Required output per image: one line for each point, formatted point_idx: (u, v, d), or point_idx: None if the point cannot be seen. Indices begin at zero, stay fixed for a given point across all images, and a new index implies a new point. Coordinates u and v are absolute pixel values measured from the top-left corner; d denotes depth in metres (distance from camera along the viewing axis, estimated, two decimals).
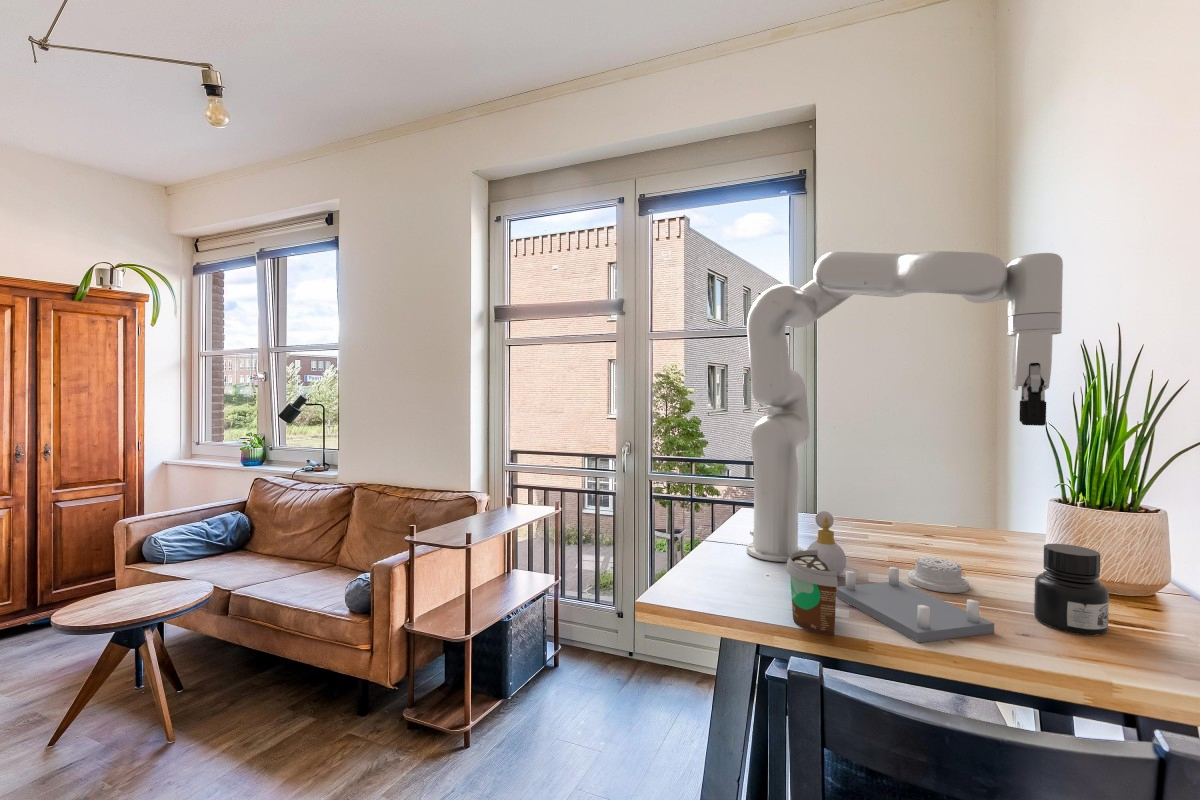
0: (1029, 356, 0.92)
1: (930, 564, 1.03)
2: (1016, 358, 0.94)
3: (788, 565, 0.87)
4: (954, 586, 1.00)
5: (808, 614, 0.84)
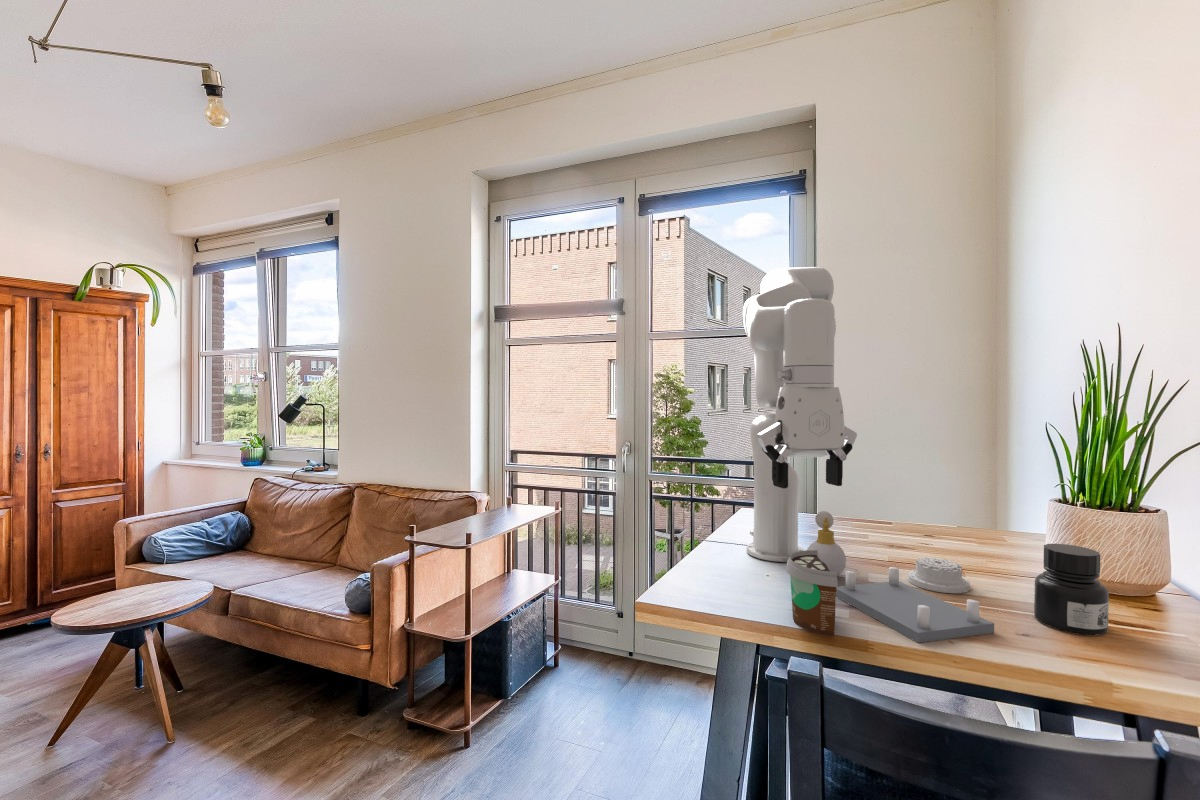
0: None
1: (930, 564, 1.03)
2: (842, 415, 0.85)
3: (788, 565, 0.87)
4: (954, 586, 1.00)
5: (808, 614, 0.84)
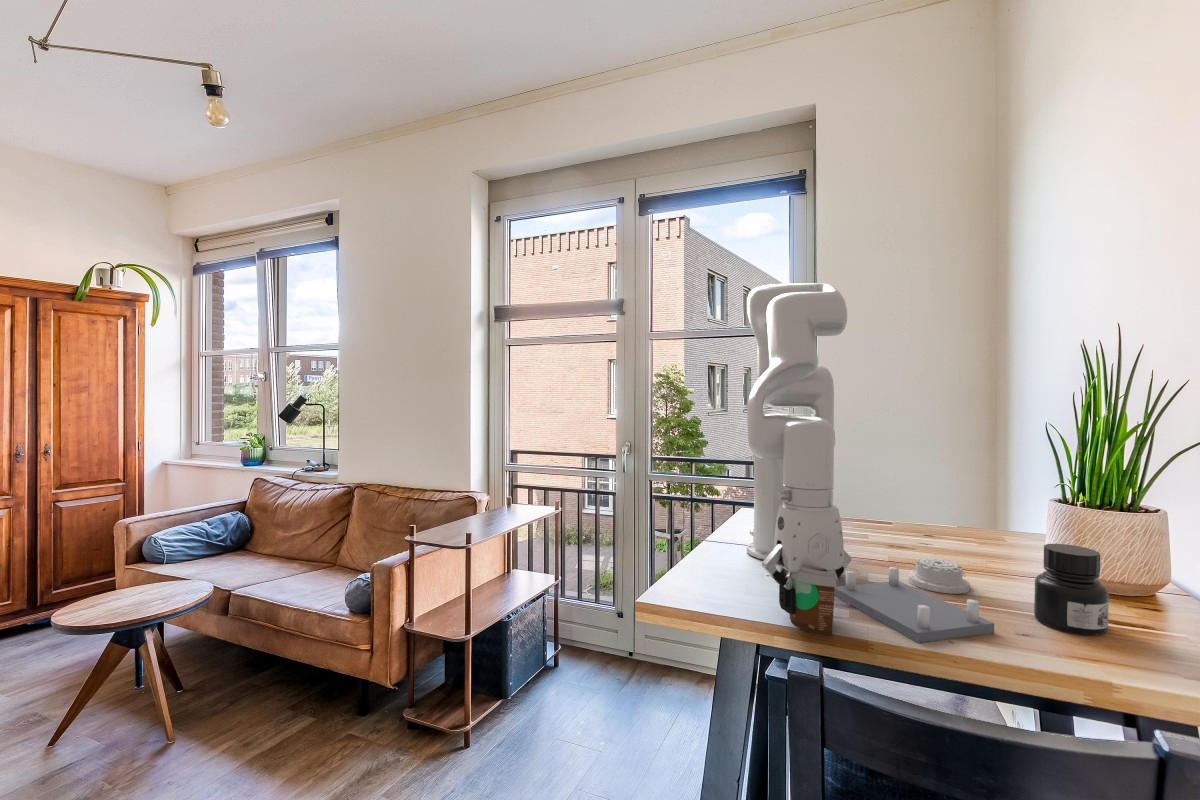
0: None
1: (931, 565, 1.03)
2: (842, 535, 0.86)
3: None
4: (955, 587, 1.00)
5: (806, 614, 0.84)
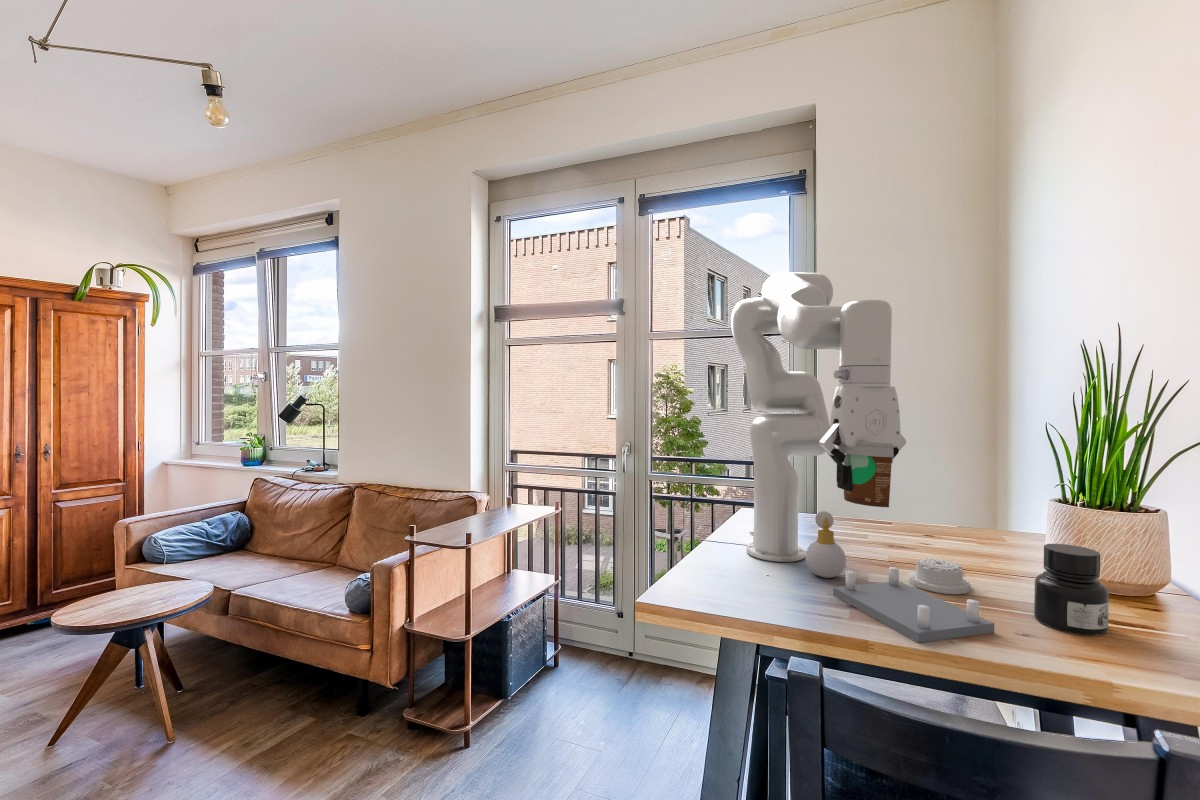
0: None
1: (931, 565, 1.03)
2: (898, 413, 0.87)
3: (840, 445, 0.89)
4: (955, 587, 0.99)
5: (862, 488, 0.85)
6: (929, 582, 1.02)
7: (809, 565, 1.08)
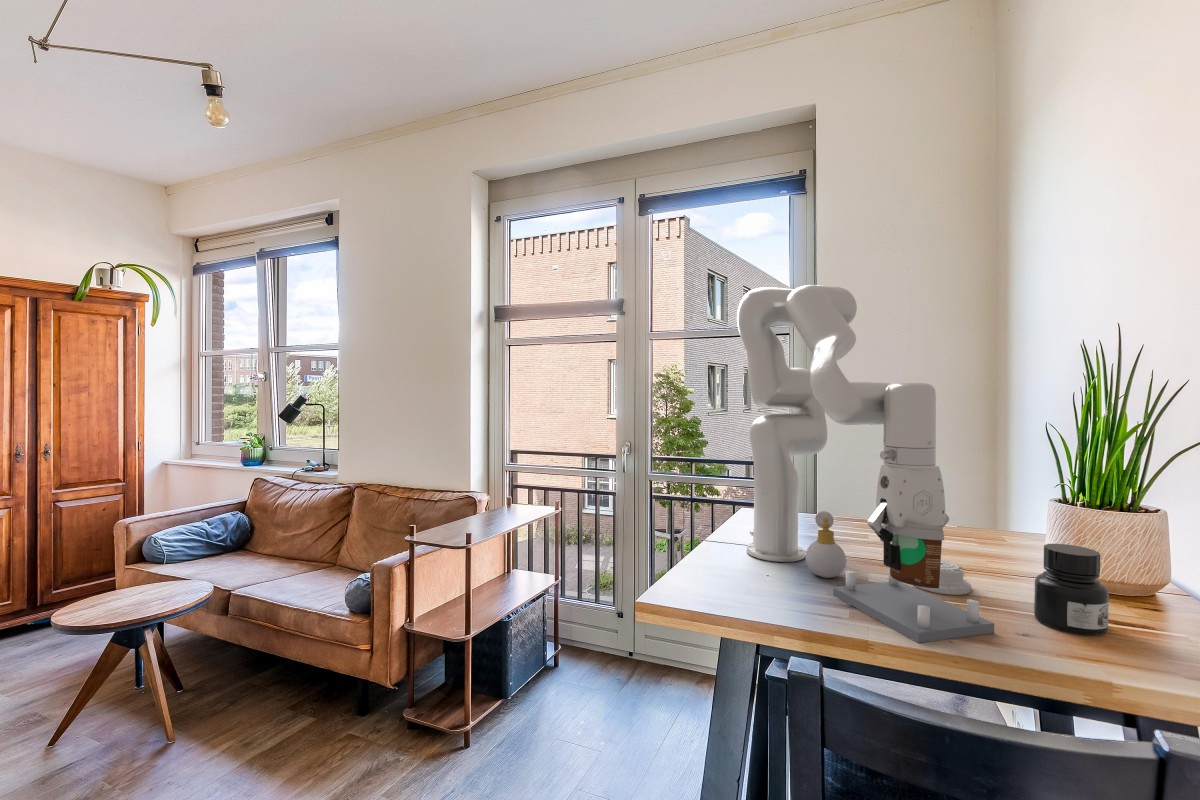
0: None
1: None
2: (943, 493, 0.89)
3: None
4: (956, 588, 0.99)
5: (912, 568, 0.87)
6: None
7: (809, 565, 1.08)
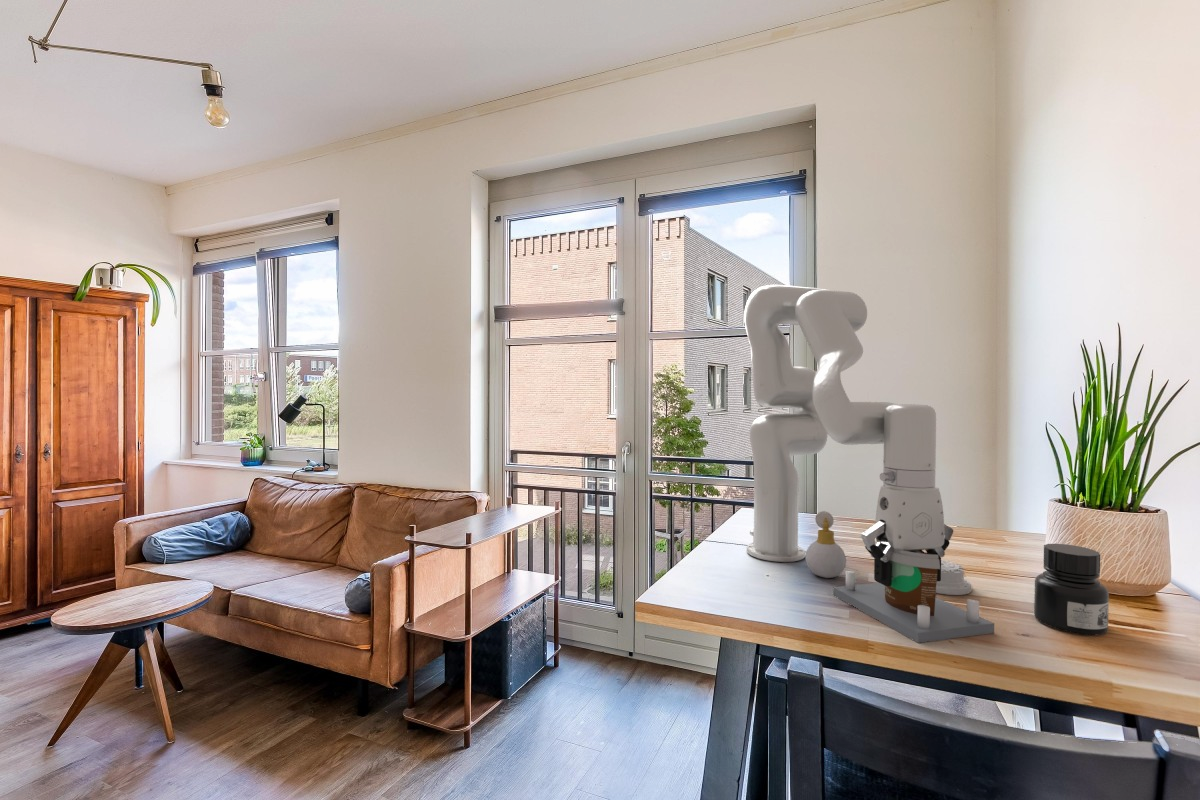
0: None
1: None
2: (943, 515, 0.89)
3: (883, 550, 0.91)
4: (956, 588, 0.99)
5: (907, 596, 0.87)
6: None
7: (809, 565, 1.08)
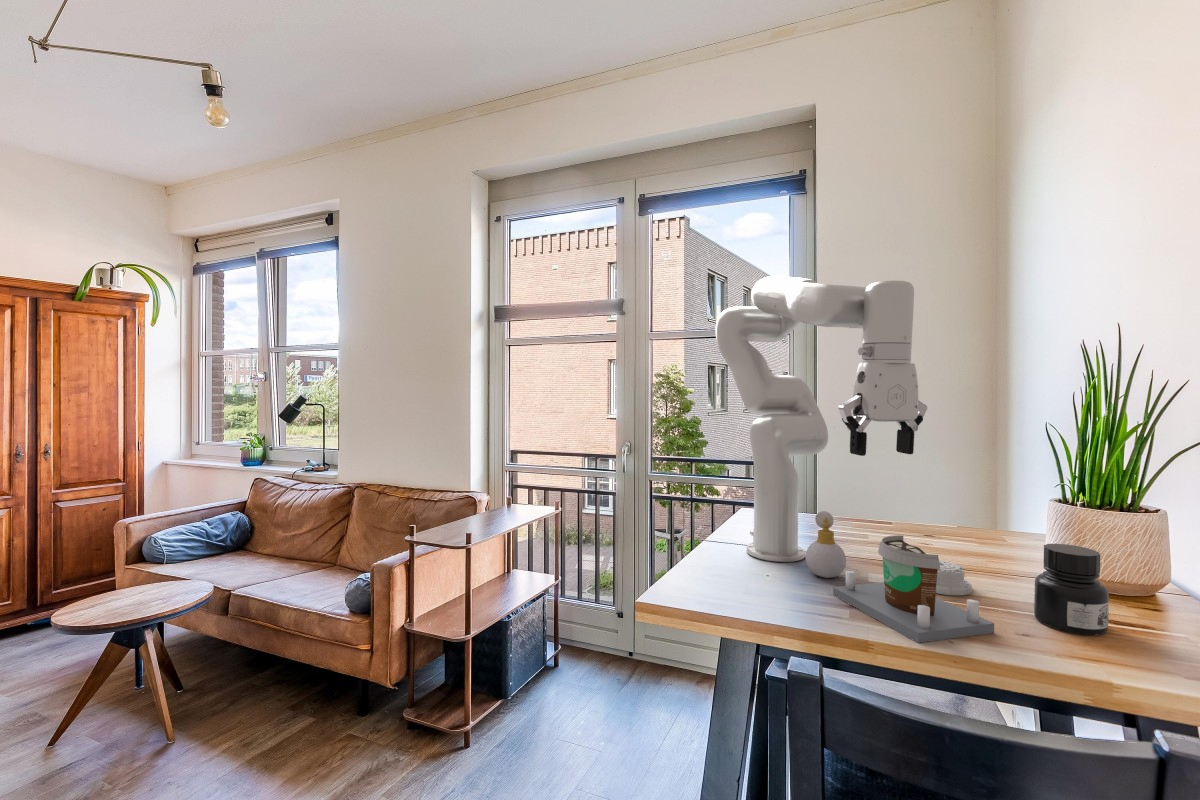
0: None
1: None
2: (917, 389, 0.93)
3: (883, 550, 0.91)
4: (957, 588, 0.99)
5: (907, 596, 0.87)
6: None
7: (809, 565, 1.08)
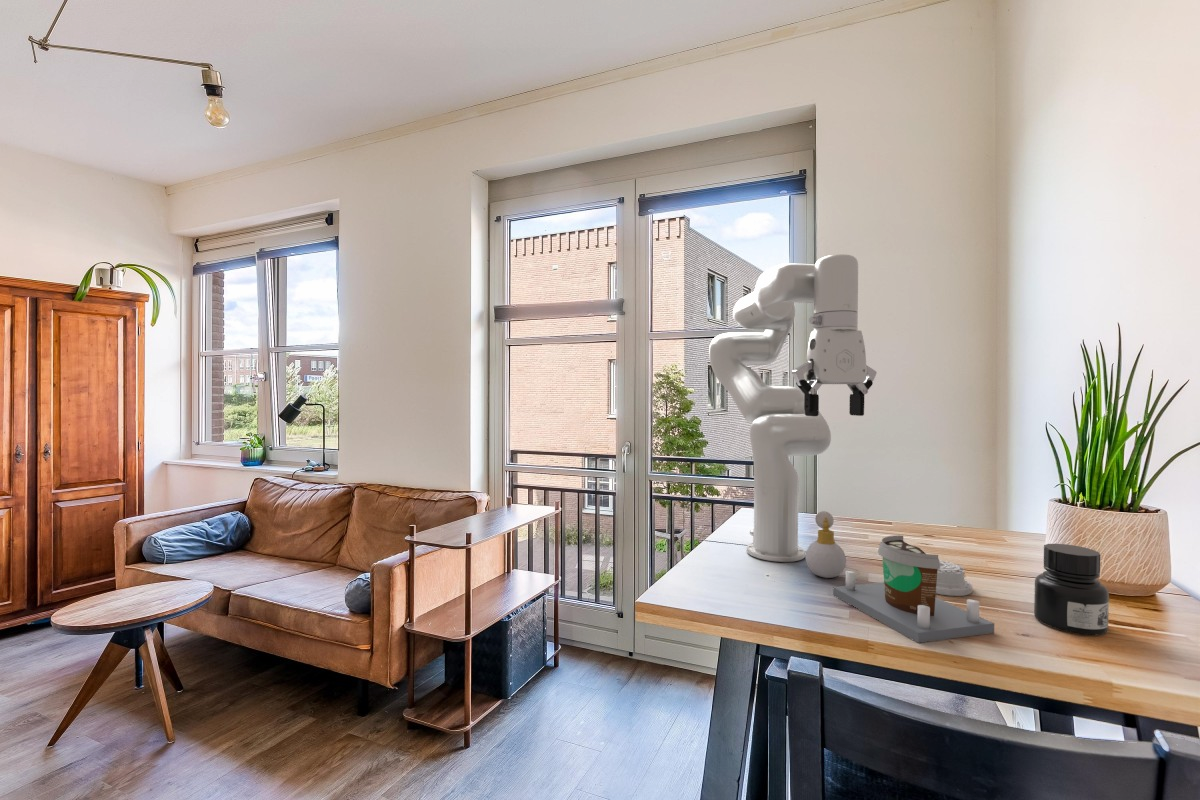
0: None
1: None
2: (865, 354, 1.00)
3: (883, 550, 0.91)
4: (957, 589, 0.99)
5: (907, 596, 0.87)
6: None
7: (809, 565, 1.08)
